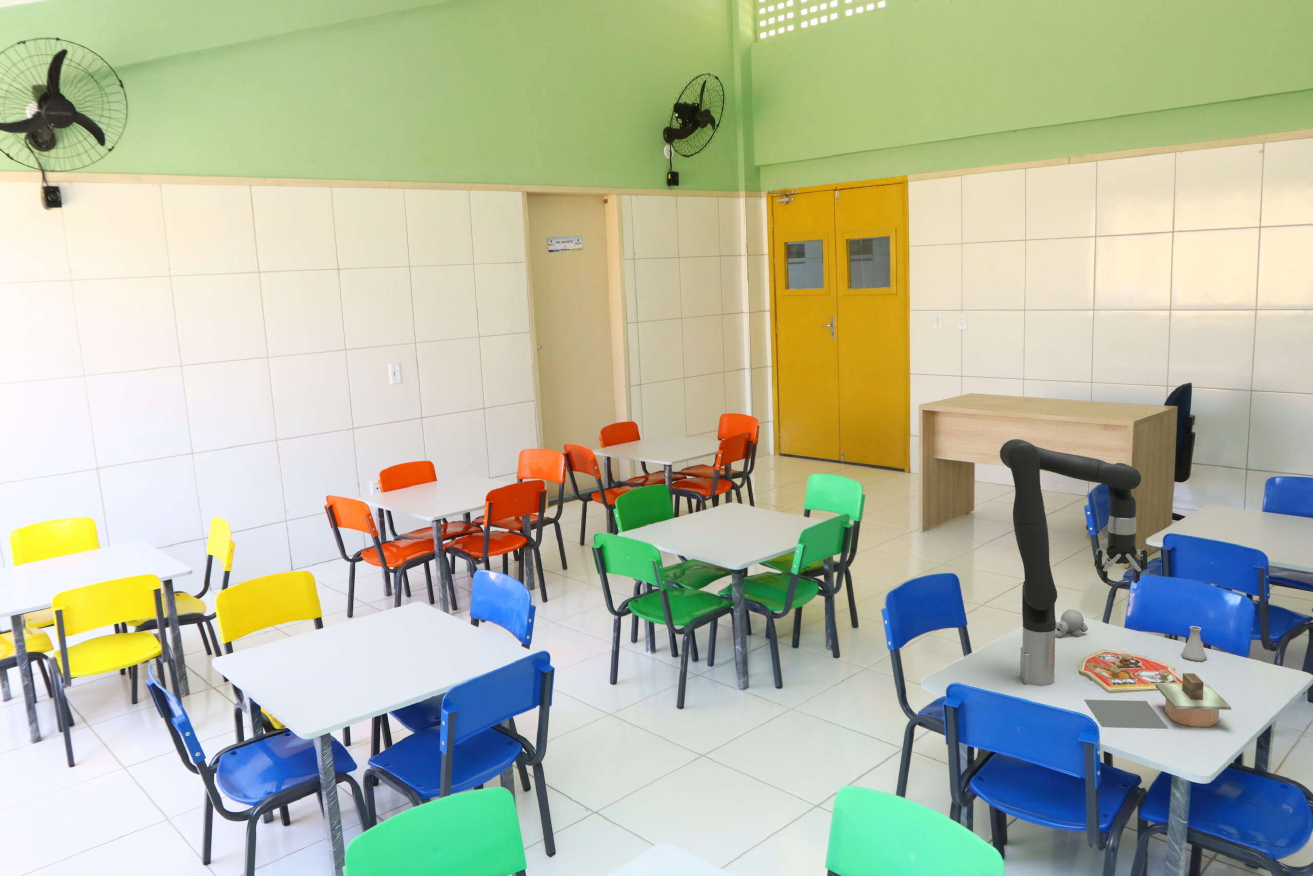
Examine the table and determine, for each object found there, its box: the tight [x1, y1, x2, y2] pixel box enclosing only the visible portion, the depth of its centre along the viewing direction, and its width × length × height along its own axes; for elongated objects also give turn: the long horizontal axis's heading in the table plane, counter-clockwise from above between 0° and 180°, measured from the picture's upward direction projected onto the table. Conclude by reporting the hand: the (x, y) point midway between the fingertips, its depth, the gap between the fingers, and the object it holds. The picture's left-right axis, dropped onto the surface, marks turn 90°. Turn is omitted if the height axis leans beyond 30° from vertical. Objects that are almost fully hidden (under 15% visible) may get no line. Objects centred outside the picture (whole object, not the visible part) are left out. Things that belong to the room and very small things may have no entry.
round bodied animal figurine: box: [1055, 609, 1089, 638], centre depth 320 cm, size 7×12×8 cm, turn 106°
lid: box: [1156, 672, 1232, 711], centre depth 257 cm, size 14×14×6 cm
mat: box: [1083, 699, 1169, 730], centre depth 262 cm, size 17×17×1 cm
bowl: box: [1164, 698, 1220, 728], centre depth 258 cm, size 12×12×6 cm
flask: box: [1180, 625, 1208, 662], centre depth 297 cm, size 7×7×10 cm
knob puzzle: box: [1078, 649, 1183, 694], centre depth 290 cm, size 29×30×4 cm
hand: (1120, 582), depth 282 cm, fingers open, 8 cm apart
